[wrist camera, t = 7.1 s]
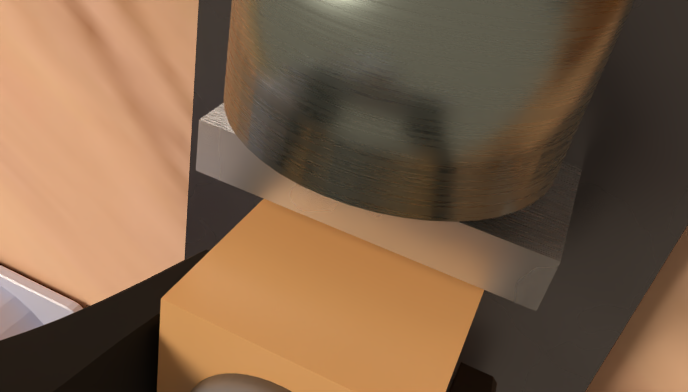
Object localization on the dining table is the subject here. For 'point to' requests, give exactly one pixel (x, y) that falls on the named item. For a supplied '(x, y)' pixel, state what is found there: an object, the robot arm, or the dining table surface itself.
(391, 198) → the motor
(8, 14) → the dining table surface
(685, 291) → the dining table surface
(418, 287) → the orange block with dome
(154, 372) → the robot arm
